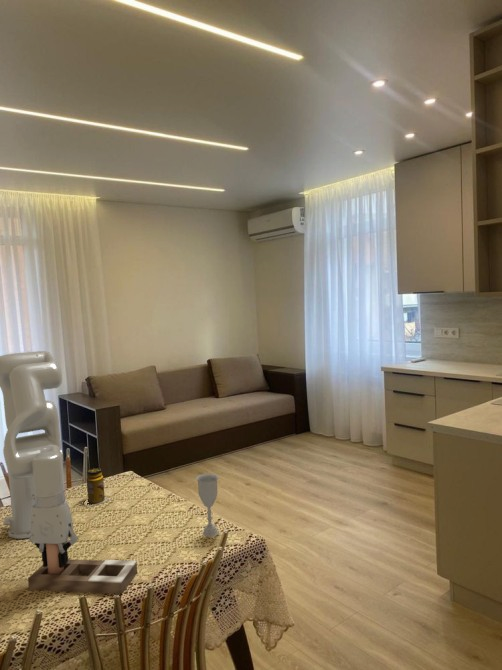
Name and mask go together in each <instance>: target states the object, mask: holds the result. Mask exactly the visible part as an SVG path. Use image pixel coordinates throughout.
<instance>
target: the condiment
mask: <svg viewBox="0 0 502 670" xmlns="http://www.w3.org/2000/svg"><path fill="white" fill-rule="evenodd" d="M102 472H103V470H102V469H101V468H100V467H97V468H96V467H94V468H91V469H88V470H87V472H86V473H87V474H86V477H87V478H86V487H87V488H86V490H87V499H85V500H81V501H79V503H80V504H82V502H83V504H84V502H85V501H86V500H88V502H89V503H87V508H90V507H93V506H96V505H99V504H102V503H106V502H108V501H109V498H106V497H105V484H104V476H103V473H102ZM83 504H82V505H83ZM88 504H90V505H88ZM91 504H93V505H91ZM85 507H86V505H85Z"/></svg>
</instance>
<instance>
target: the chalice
mask: <svg viewBox="0 0 502 670" xmlns="http://www.w3.org/2000/svg"><path fill="white" fill-rule="evenodd" d="M195 479H196V482H197V488H198V489H197V491H198V495H199V496H198V497H199V498H200V501H201V502H202V504H203V506H204V507H206V508H207V511H206V514H207V517H206V520H207V522H208V523H207V524H206V525H205V527H204V529H203V531H202V536H203V537H206V538H212V537H215V536H217V535H218V534H219V530H218V528H217V526H216V525H215V524H213V523H212V519H213V517H212V513H213V512H212V511H211V510H212V509H211V507H214V504H215V502H216V499H217V497H218V493H219V492H218V480H219V476H218V475H217V474H215V473H204V474H199V475H197V476H196V477H195Z"/></svg>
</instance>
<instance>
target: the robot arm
mask: <svg viewBox="0 0 502 670" xmlns="http://www.w3.org/2000/svg"><path fill="white" fill-rule="evenodd" d="M62 381H63V373H62V371H61V367H60V366H59V364H58V361H57V360H56V359H55V357H54V356H53V354H52V353H50V352H49V351H46V350H39V351H38V350H36V351H27V352H18V353H17V352H15V353H8V354H2V355H0V389H1V390H0V391H1V393H2V396H3V397H2V399H3V406H4V409H3V410H4V419H5V425H6V428H7V430H6V433H5V436H4V441H3V442H4V443H3V449H2V451H3V453H2V454H3V457H4V461H5V465H6V469H7V474H8V483H9V495H10V505H11V506H10V507H11V516H5V517H4V520H3V524H2V525H3V526H9V529H8V532H7V533H8V537H10V538H11V539H16V540H21V539H28V541H29V542H31V543H33V545H34V546H36V547H37V549H38V550H39V552H40V553H41V562H42V565H43V567H46V566H48V565H47V553H46V544H58V546H59V550H60V553H59V554H58V559H59V567H60V568H62V567H63V566H64V565H65V564H66V563H67V562H68V559H69V553H68V549H69V548H70V547H71V546H73V545H74V544H75V543H77V542H78V540H79V537H78V536H77V534H76V533H75V531H74V526H73V518H72V517H73V516H72V512H71V508H70V506H69V505H70V504H69V502H68V500H66V489H65V478H64V467H63V466H64V465H63V461H64V454H63V450H62V443H61V442H62V441H61V440H62V439H61V432H60V431H61V430H60V422H59V421H60V420H59V412H58V408H57V406H56V404H55V403H54V402H53V401H51V400H46V396H45V390H53V389H58V388H60V387H61V385H62V383H63V382H62ZM42 430H43V432H42V433H36V434H30V435H23V436H18V435H20V434H25V433H31V432H36V431H42ZM17 436H18V437H17ZM68 538H69V540H68Z"/></svg>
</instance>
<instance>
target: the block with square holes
mask: <svg viewBox="0 0 502 670" xmlns="http://www.w3.org/2000/svg"><path fill="white" fill-rule="evenodd" d="M137 574H138V563H137V560H121V559H105V560H101V559H100V560H99V559H97V560H93V559H73V558H72V559H71V558H68V562H67V563H66V564H65V565H64V571H63V572H62V573H61V574H60V575H48V566H46V567H43V564H42V565H41V566H40V567H39V568H38V569H36V570H35V572H34V573H32V574H31V575H30V576H29V577H28V578H27V583H28V590H32V591H33V590H34V591H35V590H36V591H52V592H72V593H89V592H90V593H91V594H92V593H94V594H109V595H110V594H111V593H115V594H114V595H119V594H118V593H121V594H120V595H123V594H122V593H124V592H125V591H126V589H127V588H128V587H129V585H130V583H131V582H132V581H133V580H134V578H135V576H136V575H137ZM87 575H88V576H87ZM111 595H112V594H111Z"/></svg>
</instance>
